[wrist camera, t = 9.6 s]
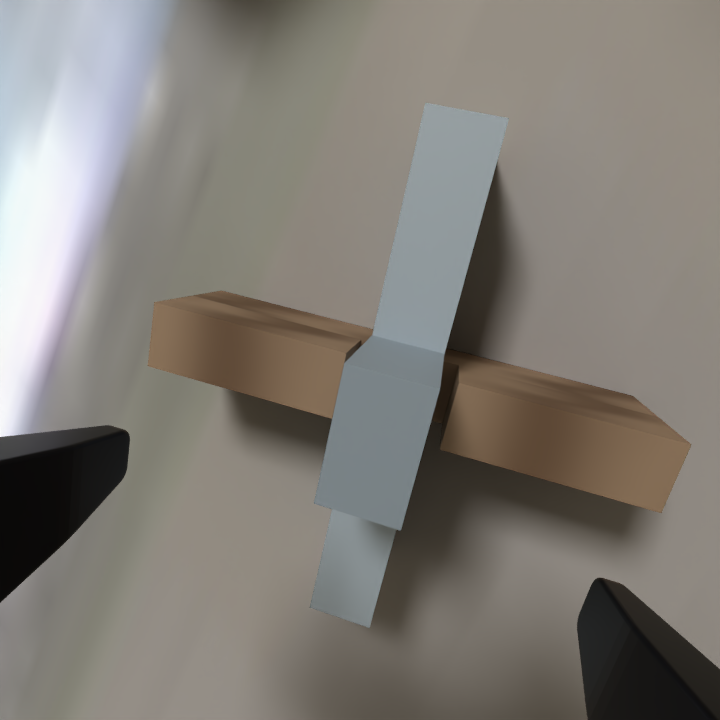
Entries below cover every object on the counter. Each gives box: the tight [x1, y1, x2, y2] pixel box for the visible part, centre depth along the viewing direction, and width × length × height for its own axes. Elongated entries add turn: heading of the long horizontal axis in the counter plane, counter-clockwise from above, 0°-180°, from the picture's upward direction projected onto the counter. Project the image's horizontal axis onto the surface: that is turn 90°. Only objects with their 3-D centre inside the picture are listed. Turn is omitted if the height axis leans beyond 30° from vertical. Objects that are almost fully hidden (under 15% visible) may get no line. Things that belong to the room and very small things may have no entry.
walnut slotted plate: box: [148, 291, 691, 513], centre depth 18 cm, size 18×2×5 cm, turn 78°
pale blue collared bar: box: [310, 103, 509, 628], centre depth 16 cm, size 18×2×9 cm, turn 168°
